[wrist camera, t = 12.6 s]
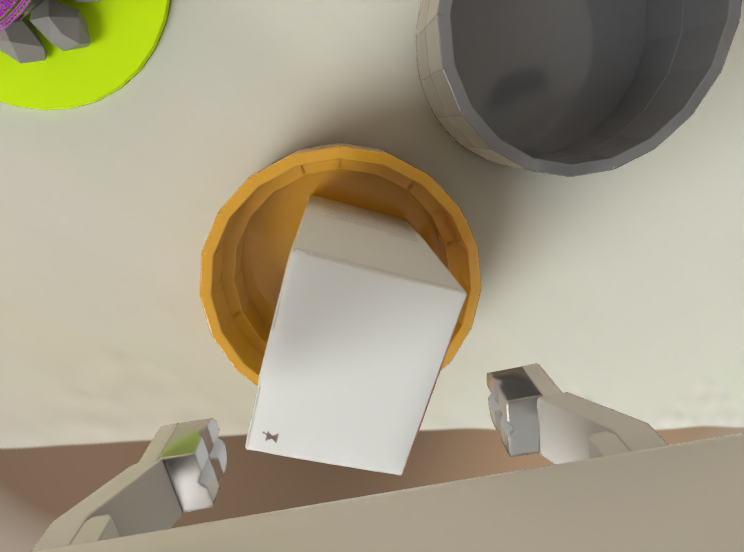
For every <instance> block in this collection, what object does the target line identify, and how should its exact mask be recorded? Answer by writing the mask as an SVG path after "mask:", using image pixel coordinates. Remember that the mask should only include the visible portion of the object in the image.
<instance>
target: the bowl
mask: <svg viewBox="0 0 744 552" xmlns="http://www.w3.org/2000/svg"><path fill="white" fill-rule="evenodd" d="M311 195H314V196H318V197H322V198H326V199H330V200H333V201H337V202H341V203H344V204H348V205H352V206H356V207H359V208H363V209H367V210H371V211H374V212H378V213H382V214H386V215H389V216H393V217H397V218H401V219H404V220H408V221H409V222H410V223H411V224H412V226H413V227H414V228H415V229H416V231H417V232H418V233H419V234H420V235H421V237H422V238H423V239H424V240H425V242H426V243H427V244H428V245H429V247H430V248H431V249H432V250H433V252H434V253H435V254H436V255H437V257H438V258H439V259H440V260H441V262H442V263H443V264H444V265H445V266H446V268H447V269H448V270H449V271H450V273H451V274H452V275H453V276H454V278H455V279H456V280H457V282H458V283H459V284H460V285H461V286H462V288H463V289H464V290H465V291H466V293H467V297H466V300H465V303H464V306H463V308H462V311H461V314H460V317H459V320H458V322H457V325H456V328H455V331H454V334H453V336H452V339H451V342H450V345H449V348H448V351H447V353H446V356H445V359H444V362H443V365H442V368H441V370H442V369H443V368H444V367H445V366H446V365H448V364H449V363H450V361H452V359H453V357H454V356H455V354H456V352H457V351H458V349H459V348H460V346H461V344H462V343H463V341H464V339H465V338H466V336H467V335H468V333H469V331H470V330H471V327H472V324H473V320H474V316H475V312H476V308H477V304H478V300H479V296H480V292H481V278H480V267H479V255H478V248H477V244H476V242H475V240H474V237H473V235H472V233H471V231H470V228H469V226H468V224H467V222H466V219H465V217H464V215H463V213H462V210H461V209H460V207H459V206H458V205H457V204H456V203H455V202H454V201H453V200H452V198H451V197H450V196H449V195H448V194H447V193H446V192H445V191H444V190H443V189H442V188H441V187H440V186H439V185H438V184H437V182H436V181H435V180H434V179H433V178H432V177H431V176H429V175H428V174H426V173H425V172H423V171H421V170H419V169H417V168H415V167H413V166H411V165H409V164H407V163H406V162H404V161H402V160H400V159H398V158H396V157H394V156H392V155H390V154H389V153H387V152H385V151H383V150H380V149H377V148H370V147H364V146H358V145H352V144H346V143H334V144H329V145H323V146H317V147H311V148H305V149H300V150H297V151H296V152H294V153H292V154H290V155H288V156H286V157H285V158H283V159H281V160H279V161H277V162H275V163H273V164H272V165H270V166H268V167H266V168H264V169H263V170H261V171H259V172H257V173H255V174H254V175H252V176H251V177H249V178H248V179H247V180H246V181H245V183H244V184H243V185H242V186H241V187H240V188H239V189H238V190H237V191H236V192H235V194H234V195H233V196H232V197H231V198H230V199H229V200H228V201H227V202H226V204H225V205H224V206H223V207H222V208H221V209H220V210H219V212H218V214H217V216H216V219H215V221H214V223H213V226H212V228H211V231H210V233H209V236H208V238H207V240H206V243H205V245H204V248H203V250H202V254H201V276H200V298H201V302H202V305H203V308H204V311H205V315H206V318H207V321H208V324H209V328H210V331H211V334H212V335H213V338H214V339H215V341H216V342H217V344H218V345H219V346H220V348H221V349H222V351H223V352H224V353H225V355H226V356H227V358H228V359H229V360H230V362H231V363H232V365H233V366H234V367H235V369H236V370H237V371H239V372H240V373H241V374H243V375H244V376H245V377H247V378H248V379H249V380H251V381H252V382H253V383H254V384H256V385H257V386H258V380H259V374H260V371H261V367H262V362H263V358H264V354H265V350H266V346H267V342H268V338H269V334H270V330H271V326H272V322H273V318H274V314H275V310H276V306H277V302H278V298H279V294H280V290H281V286H282V282H283V278H284V274H285V270H286V266H287V262H288V258H289V255H290V252H291V248H292V245H293V243H294V240H295V237H296V234H297V232H298V229H299V226H300V223H301V220H302V217H303V214H304V212H305V209H306V206H307V203H308V200H309V197H310V196H311Z"/></svg>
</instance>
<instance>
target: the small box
mask: <svg viewBox="0 0 744 552" xmlns="http://www.w3.org/2000/svg"><path fill="white" fill-rule="evenodd" d="M466 297H467V293H466V291H465V290H464V289H463V288H462V286H461V285H460V284H459V283H458V282H457V280H456V279H455V278H454V276H453V275H452V274H451V273H450V271H449V270H448V269H447V268H446V266H445V265H444V264H443V263H442V262H441V260H440V259H439V258H438V257H437V255H436V254H435V253H434V252H433V250H432V249H431V248H430V247H429V245H428V244H427V243H426V242H425V240H424V239H423V238H422V237H421V235H420V234H419V233H418V232H417V231H416V229H415V228H414V227H413V226H412V224H411V223H410V222H409V221H408V220H404V219H401V218H397V217H393V216H389V215H386V214H382V213H378V212H374V211H371V210H367V209H363V208H359V207H356V206H352V205H348V204H344V203H341V202H337V201H333V200H330V199H326V198H322V197H318V196H314V195H311V196H310V197H309V200H308V203H307V206H306V209H305V212H304V214H303V217H302V220H301V223H300V226H299V229H298V232H297V234H296V237H295V240H294V243H293V245H292V248H291V252H290V255H289V258H288V262H287V266H286V270H285V274H284V278H283V282H282V286H281V290H280V294H279V298H278V302H277V306H276V310H275V314H274V318H273V322H272V326H271V330H270V334H269V338H268V342H267V346H266V350H265V354H264V358H263V362H262V367H261V371H260V374H259V380H258V388H257V393H256V398H255V403H254V407H253V412H252V417H251V421H250V426H249V431H248V436H247V440H246V448H247V449H248V450H256V451H261V452H266V453H272V454H276V455H282V456H287V457H293V458H298V459H304V460H311V461H316V462H322V463H328V464H334V465H340V466H346V467H353V468H359V469H365V470H371V471H377V472H385V473H391V474H396V475H402V474H403V473H404V471H405V468H406V465H407V462H408V460H409V457H410V454H411V451H412V448H413V445H414V443H415V440H416V437H417V434H418V432H419V429H420V426H421V423H422V420H423V418H424V415H425V412H426V409H427V406H428V403H429V400H430V398H431V395H432V393H433V390H434V387H435V384H436V381H437V378H438V376H439V373H440V371H441V368H442V365H443V362H444V359H445V356H446V353H447V351H448V348H449V345H450V342H451V339H452V336H453V334H454V331H455V328H456V325H457V322H458V320H459V317H460V314H461V311H462V308H463V306H464V303H465V300H466Z"/></svg>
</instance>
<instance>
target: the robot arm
mask: <svg viewBox="0 0 744 552" xmlns="http://www.w3.org/2000/svg"><path fill="white" fill-rule="evenodd" d="M487 386H488V388H489V390H490V392H491V395H490V396H489V398H488V401H489V409H490V414H491V418H492V421H493V424H494V426H495V428H496V430H497V431H499V432H501V438H502V442H503V444H504V446H505V448H506V450H507V452H508V454H509V456H510V457H514V456H521V455H528V454H535V453H540V454H541V455H543V456H544V457H545V458H547V459H548V460H550V461H551V462H553V463H554V465H549V466H542V467H537V468H530V469H524V470H518V471H512V472H507V473H500V474H495V475H488V476H482V477H476V478H471V479H464V480H459V481H453V482H447V483H441V484H435V485H429V486H423V487H417V488H411V489H405V490H399V491H393V492H387V493H382V494H375V495H369V496H363V497H358V498H351V499H345V500H339V501H333V502H327V503H322V504H316V505H309V506H304V507H298V508H292V509H285V510H280V511H274V512H268V513H261V514H255V515H250V516H244V517H238V518H232V519H225V520H219V521H213V522H207V523H202V524H196V525H190V526H184V527H178V528H172V529H170V528H171V527H172V526H173V525H174V523H175V522H176V521H177V520H178V519H179V518H180V517H181V516H182V514H183V512H188V511H193V510H198V509H203V508H208V507H213V506H214V503H215V500H216V497H217V494H218V491H219V489H220V487H219V484H218V481H219V480H220V479H221V478H222V477H223V476H224V474H225V470H226V465H227V454H226V449H225V445H224V442H223V441H221V440H220V439H219V438H217V435H218V433H219V430H220V429H219V427H218V424H217V421H216V420H215V419H213V418H211V419H204V420H197V421H190V422H183V423H176V424H170V425H165V426H162V427H160V428H159V430H158V432H157V433H156V435H155V437H154V438H153V440H152V442H151V443H150V445H149V446H148V448H147V450H146V451H145V453H144V455H143V456H142V458H141V460H140V461H139V463H138V464H133V465H131V466H130V467H129V468H127V469H126V470H124V471H123V472H122V473H121V474H119V475H117V476H116V477H115V478H113V479H112V480H111V481H109V482H108V483H106V484H105V485H103V486H102V487H101V488H99V489H98V490H97V491H95V492H94V493H92V494H91V495H90V496H88V497H87V498H85V499H84V500H83V501H81V502H80V503H79V504H77V505H76V506H74V507H73V508H72V509H70V510H69V511H67V512H66V513H65V514H63V515H62V516H60V517H59V518H57V519H56V520H55V521H53V522H52V523H51V525H50V526H49V527H48V529H47V530H46V531H45V533H44V534H43V535H42V537H41V538H40V539H39V541H38V542H37V543H36V545H35V546H34V548H33V549H32V550H31V552H744V433H740V434H734V435H728V436H722V437H716V438H710V439H705V440H698V441H692V442H687V443H680V444H674V445H669V444H668V443H667V442H666V441H665V440H664V439H663V438H662V437H661V436H660V435H659V434H658V433H657V432H656V431H655V430H654V429H653V428H652V427H651V426H650V425H649V424H648V423H646V422H643V421H640V420H638V419H635V418H633V417H630V416H628V415H625V414H622V413H620V412H617V411H615V410H612V409H609V408H607V407H604V406H602V405H599V404H597V403H594V402H591V401H589V400H586V399H584V398H581V397H579V396H576V395H573V394H571V393H568V392H565V393H562V392H561V390H560V389H559V388H558V387H557V386H556V384H555V383H554V382H553V381H552V379H551V378H550V377H549V376H548V375H547V373H546V372H545V371H544V370H543V369H542V367H541V366H540V365H539V364H537V363H536V364H531V365H526V366H521V367H517V368H512V369H507V370H501V371H496V372H491V373H487Z"/></svg>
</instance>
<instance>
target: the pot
mask: <svg viewBox="0 0 744 552" xmlns="http://www.w3.org/2000/svg"><path fill="white" fill-rule="evenodd" d="M741 5H742V0H422V2H421V6H420V12H419V17H418V23H417V32H416V55H417V65H418V71H419V76H420V81H421V84H422V87H423V90H424V93H425V96H426V98H427V100H428V102H429V105H430V107H431V109H432V111H433V112H434V114H435V117H437V119H438V120H439V122H440V123H441V124H442V126H443V127H444V128H445V129H446V130H447V132H448V133H449V134H450V135H451V136H452V137H453V138H454V139H455V140H456V141H457V142H458V143H459V144H461V146H463V147H465V148H467V149H468V150H470V151H471V152H473V153H475V154H477V155H479V156H481V157H483V158H485V159H487V160H488V161H490V162H494V163H498V164H503V165H507V166H511V167H516V168H520V169H525V170H529V171H535V172H541V173H547V174H553V175H560V176H566V177H574V176H580V175H586V174H592V173H597V172H603V171H609V170H613V169H616V168H618V167H620V166H622V165H624V164H626V163H628V162H630V161H632V160H634V159H636V158H638V157H640V156H642V155H644V154H646V153H648V152H650V151H652V150H654V149H655V148H656V147H658V146H659V145H660V144H661V143H662V142H663V141H664V140H665V139H666V138H667V137H669V136H670V135H671V134H672V133H673V132H674V131H675V130H676V129H677V128H679V127H680V126H681V125H682V124H683V123H684V122H685V121H686V120H687V119H688V118H690V117H691V115H692V114H693V113H694V112H695V110H696V109H697V107H698V106H699V104H700V103H701V101H702V100H703V98H704V97H705V95H706V94H707V92H708V91H709V89H710V88H711V86H712V85H713V83H714V82H715V80H716V79H717V77H718V76H719V74H720V73H721V70H722V68H723V65H724V63H725V60H726V57H727V54H728V52H729V49H730V46H731V43H732V41H733V38H734V35H735V32H736V29H737V27H738V24H739V19H740V15H741Z"/></svg>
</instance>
